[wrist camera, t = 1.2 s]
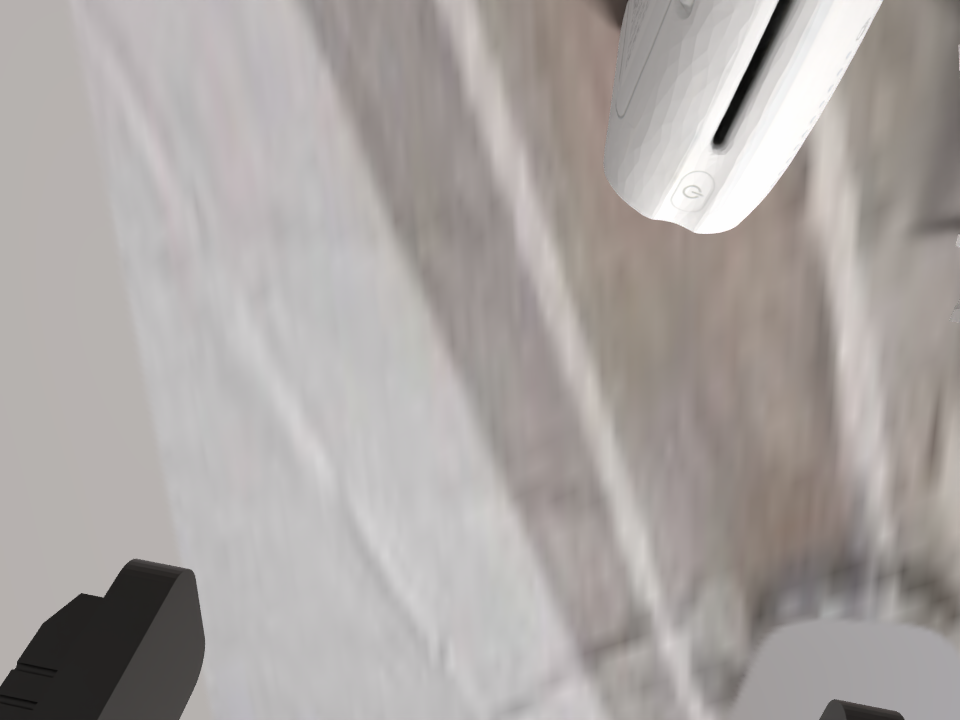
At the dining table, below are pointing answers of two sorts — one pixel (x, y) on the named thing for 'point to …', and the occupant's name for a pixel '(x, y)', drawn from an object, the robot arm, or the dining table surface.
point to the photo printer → (721, 100)
